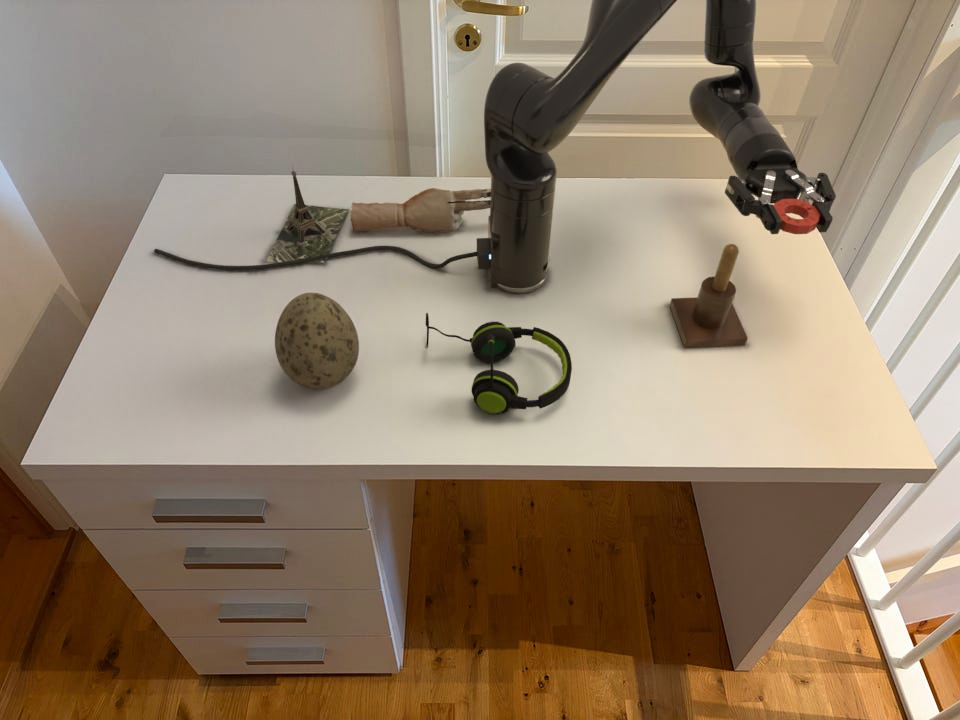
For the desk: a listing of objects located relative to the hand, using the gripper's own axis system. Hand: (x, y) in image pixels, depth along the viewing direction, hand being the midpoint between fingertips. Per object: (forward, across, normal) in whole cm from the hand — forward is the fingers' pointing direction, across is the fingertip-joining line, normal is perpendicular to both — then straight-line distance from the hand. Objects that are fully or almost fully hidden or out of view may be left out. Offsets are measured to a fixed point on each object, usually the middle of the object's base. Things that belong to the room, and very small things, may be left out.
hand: (801, 227), depth 93 cm
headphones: (+6, -39, +20) cm, 44 cm away
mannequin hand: (-28, -48, +20) cm, 59 cm away
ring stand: (-2, -7, +20) cm, 21 cm away
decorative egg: (+4, -63, +20) cm, 66 cm away
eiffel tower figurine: (-28, -68, +20) cm, 76 cm away
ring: (-2, 0, 0) cm, 2 cm away
